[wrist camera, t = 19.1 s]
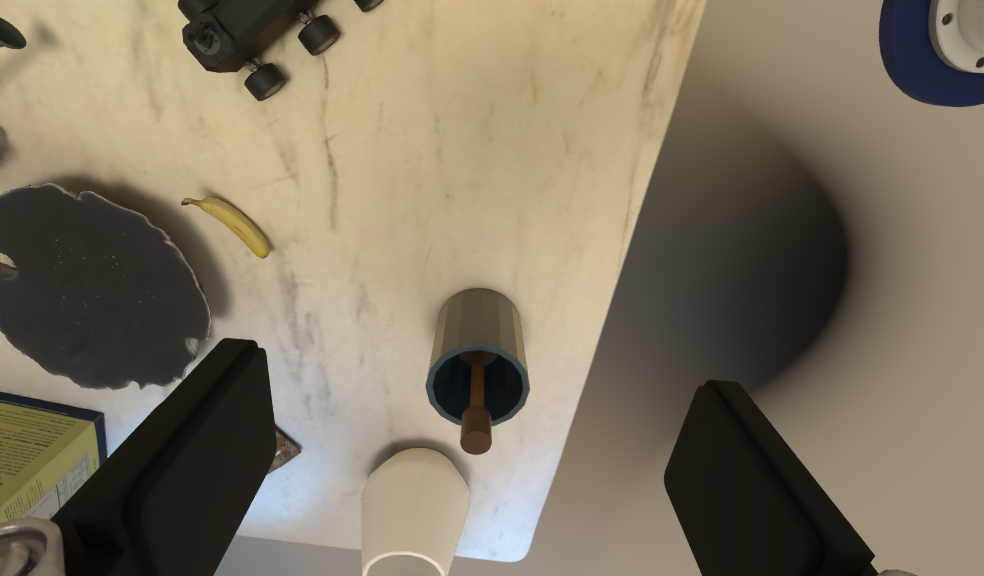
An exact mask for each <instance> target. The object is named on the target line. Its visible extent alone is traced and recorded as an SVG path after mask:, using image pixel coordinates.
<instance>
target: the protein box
mask: <svg viewBox="0 0 984 576" xmlns="http://www.w3.org/2000/svg"><path fill="white" fill-rule="evenodd" d="M106 460H107V457H106V447H105V435H104V426H103V414H102V413H97V412H92V411H87V410H83V409H78V408H73V407H68V406H63V405H58V404H53V403H48V402H43V401H38V400H34V399H29V398H24V397H19V396H14V395H9V394H4V393H0V523H2V522H6V521H9V520H13V519H19V518H28V517H37V518H44V519H49V520H50V519H51V518H52V517H53V516H54V515H55V514H56V512H57V511H58V510H59V509H60V508H61V507H62V506H63V505H64V504H65V503H66V502H67V501H68V500H69V499H70V498H71V497H72V496H73V495H74V493H75V492H76V491H77V490H78V489H79V488H80V487H81V486H82V485H83V484H84V483H85V482H86V481H87V480H88V479H89V478H90V477H91V476H92V474H93V473H94V472H95V471H96V470H97V469H98V468H99V467H100V466H101V465H102V464H103V463H104V462H105V461H106Z"/></svg>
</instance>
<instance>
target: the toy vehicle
mask: <svg viewBox="0 0 984 576" xmlns="http://www.w3.org/2000/svg"><path fill="white" fill-rule="evenodd" d="M318 1H319V0H179V1H178V8H179V9H180V10H181V12H182V13H183V14H184V15H185V17H186V18H187V19H188V20H189V21H190V23H189V24H187V25H186V26H185V27H184V28H183V29H182V33H183V43H184V44H185V45H186V46H187V49H188V50H189V51H190V52H191V53H192V55H193V56H194V57H195V58H196V59H197V60H198V61H199V63H200V64H201V65H202V66H203V67H204V68H205V69H206V70H207V71H212V72H217V73H223V72H238V71H239V70H240V69H241V68H242V67H243V66H244V65H245V64H246V65H247V66H249V70H250V72H253V73H252V74H251V75H250V76H249V77H248V78H247V79H246V81H245V83H244V84H245V86H246V87H247V89H248V90H249V91H250V92H251V94H252V95H253V96H254V97H255V98H256V99H257V100H258V101H263V100H265V99H267V98H269V97H270V96H272V95H273V94H275V93H276V92H277V91H279V90H280V89H281V88H282V87H283V86H284V85H285V83H286V78H285V77H284V76H283V74H282V73H281V72H280V71H279V69H278V68H277V67H276V66H275V65H274V64H273V63H269V64H266V65H264V66H262V65H261V62H260V60H259V59H258V58H257V56H259V55H260V54H261V53H262V52H263V51H264V50H265V49H266V48H267V47H268V46H269V45H271V44H272V43H273V42H274V41H275V40H276V39H277V38H278V37H279V36H280V35H282V34H283V33H284V32H285V31H286V30H287V29H288V28H289V27H290V26H291V25H292V24H294V23H295V22H296V21H297V20H298V19H297V17H298V16H299V17H300V19H301V20H302V22H303V23H304V24H307V25H306V26H305V27H304V28H303V29H302V30H301V32H300V33H299V35H298V38H299V40H300V41H301V43H302V44H303V45H304V47H305V48H306V49H307V50H308V52H309V53H310V54H311V55H312V56H315V55H318V54H320V53H321V52H323V51H324V50H326V49H327V48H329V47H330V46H331V45H332V44H333V43H334V42H335V41H336V40H337V39H338V38H339V36H340V32H339V30H338V29H337V27H336V26H335V24H334V23H333V22H332V21H331V19H330V18H329V17H328V16H327V15H322V16H319V17H317V18H316V19H314V17H313V14H312V12H311V11H310V10H309V9H310V8H311V7H312V6H313V5H314V4H316V3H317V2H318ZM354 1H355V2H356V4H357V5H358V7H359V8H360V9H361V10H362V12H368V11H370V10H372V9H373V8H375V7H376V6H378V5H379V4H380V3H381V2H382V1H383V0H354ZM307 13H309V15H308V16H307V15H306V14H307ZM254 61H256V63H255V64H254V63H253V62H254Z"/></svg>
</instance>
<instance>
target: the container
mask: <svg viewBox="0 0 984 576" xmlns="http://www.w3.org/2000/svg"><path fill="white" fill-rule="evenodd" d="M476 350H482V351H487V352H492V353H497V354H498V356H497V358H496V359H495V360H494V361H493V362H491V363H490V364H487V365H484V407H485V408H486V409H488V411H489V412H490V414H491V426H495V425H498V424H500V423H502V422H504V421H506V420H509V419H511V418H512V417H513V416H514V415H515V414H516V413H517V412H518V411H519V410H520V409H521V408H522V407H523V406H524V405H525V402H526V399H527V397H528V394H529V391H530V386H529V379H528V372H527V364H526V357H525V350H524V343H523V335H522V328H521V321H520V316H519V313H518V311H517V309H516V307H515V306H514V304H513V303H512V302H511V301H510V300H509V299H508V298H506V297H505V296H504V295H502V294H500V293H498V292H495V291H492V290H489V289H470V290H466V291H463V292H460V293H458V294H456V295H455V296H453V297H452V298H450V299H449V300H448V301H447V302H446V303H445V304H444V306H443V307H442V309H441V311H440V313H439V317H438V322H437V326H436V331H435V337H434V342H433V348H432V353H431V359H430V364H429V370H428V375H427V381H426V390H427V394H428V398H429V402H430V404H431V405H432V406H433V407H434V408H435V409H436V411H437V412H438V413H439V414H440V415H441V416H442V417H444V418H446V419H447V420H449V421H451V422H453V423H455V424H457V425H462V414H463V412H464V411H465V410H466V409H467V408H469V407H470V390H471V367H472V365H469V364H467V363H465V362H464V361H463V360H462V359H461V358H460V357H459V355H458V354H459V353H461V352H469V351H476Z"/></svg>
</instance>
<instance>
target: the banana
mask: <svg viewBox="0 0 984 576" xmlns="http://www.w3.org/2000/svg"><path fill="white" fill-rule="evenodd" d="M181 204H182V205H188V204H194V205H197V206H199V207H200V208H201V209H202V210H204V211H205V212H207V213H209V214H210V215H212V216H214V217H215V218H217V219H218V220H220V221H221V222H222V223H224V224H225V225H226V226H227V227H228V228H230V229H231V230H232V231H233V232H234V233H235V234H236V235H238V236H239V237H240V238H241V239H242V240H243V241H244V242H245V244H246V245H247V246H248V247H249V248H250V249H251V251H252V252H253V253H254V254H255V255H256V256H258V257H260V258H263V259H264V258H266V257H267V256H268V255H269V247H268V244H267V242H266V240H265V238H264V237H263V235H262V234H261V233H260V231H259V230H258V229H257V228H256V227H255V226H254V224H253V223H252V222H251V221H250V220H249V219H247V218H246V217H245V216H244V215H243V214H242V213H240V212H239V211H238V210H236V209H235V208H233V207H232V206H230V205H229V204H227V203H225V202H223V201H221V200H219V199H216V198H212V197H208V198H205V199H203V200H193V199H191V198H185V199H184V200H183V201H182V202H181Z"/></svg>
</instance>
